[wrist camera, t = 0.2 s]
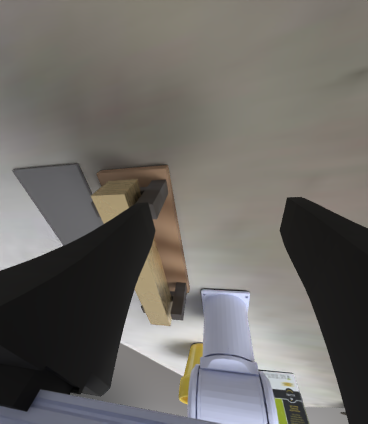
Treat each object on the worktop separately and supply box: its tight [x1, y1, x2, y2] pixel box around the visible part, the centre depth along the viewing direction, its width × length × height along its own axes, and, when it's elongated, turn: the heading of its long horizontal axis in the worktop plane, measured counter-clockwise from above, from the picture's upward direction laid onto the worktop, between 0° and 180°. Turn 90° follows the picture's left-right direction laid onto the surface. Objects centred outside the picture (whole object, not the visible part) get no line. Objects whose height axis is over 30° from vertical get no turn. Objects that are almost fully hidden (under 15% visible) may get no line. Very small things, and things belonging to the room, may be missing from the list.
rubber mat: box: [12, 164, 135, 290], centre depth 27 cm, size 24×9×1 cm, turn 7°
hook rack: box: [91, 165, 190, 320], centre depth 23 cm, size 22×8×6 cm, turn 7°
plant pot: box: [179, 343, 203, 404], centre depth 41 cm, size 10×10×10 cm
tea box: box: [258, 371, 309, 424], centre depth 44 cm, size 15×10×15 cm
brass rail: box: [91, 179, 173, 326], centre depth 21 cm, size 22×3×3 cm, turn 7°
